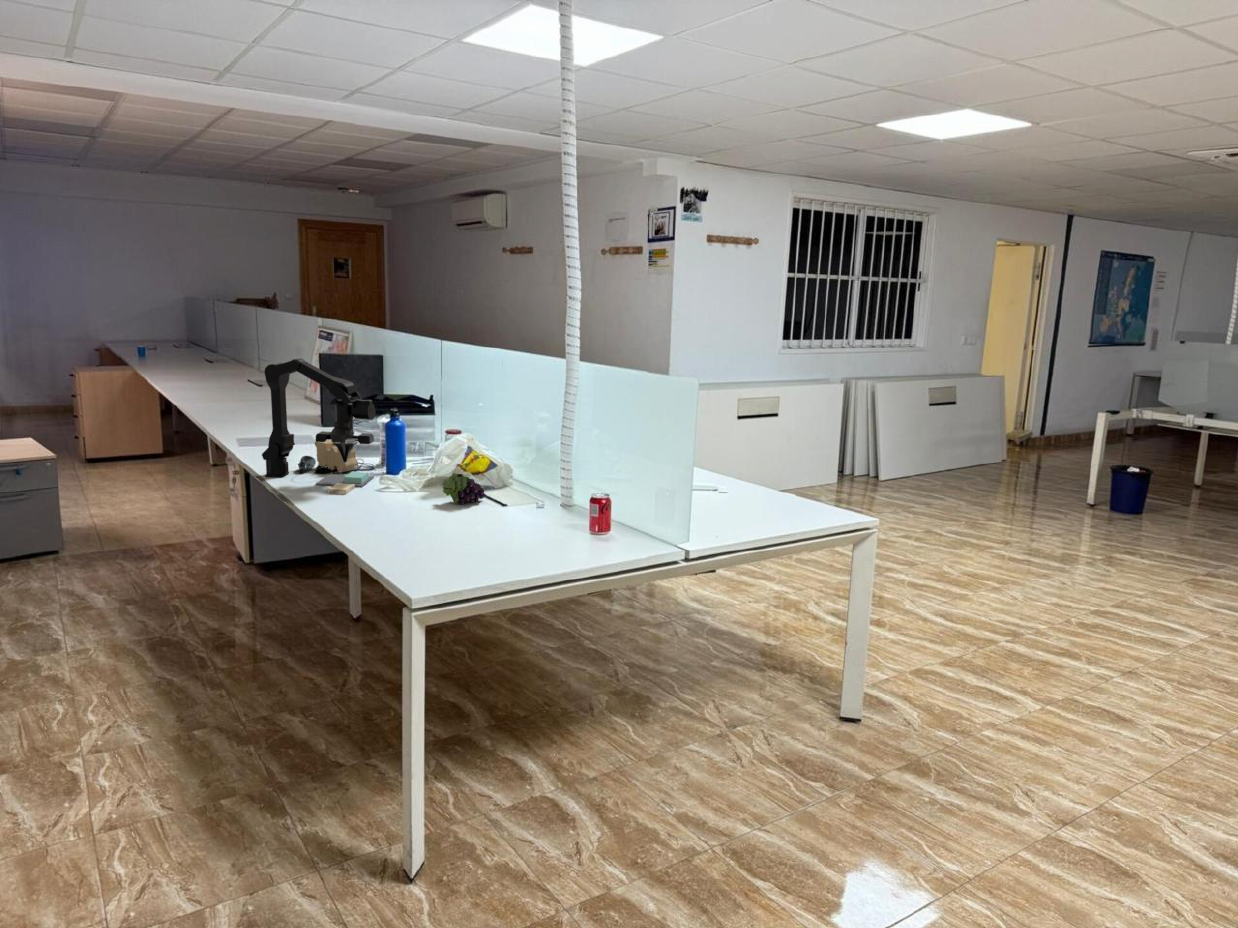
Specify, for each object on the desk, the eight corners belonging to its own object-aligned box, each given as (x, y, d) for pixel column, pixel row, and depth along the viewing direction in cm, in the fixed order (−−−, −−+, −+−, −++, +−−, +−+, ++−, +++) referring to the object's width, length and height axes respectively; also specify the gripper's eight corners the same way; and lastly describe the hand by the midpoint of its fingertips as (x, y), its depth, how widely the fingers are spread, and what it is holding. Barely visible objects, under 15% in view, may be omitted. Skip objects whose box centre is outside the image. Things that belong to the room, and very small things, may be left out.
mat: (315, 485, 297) (315, 483, 297) (329, 476, 311) (329, 474, 311) (362, 487, 297) (362, 485, 297) (373, 477, 311) (373, 476, 311)
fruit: (485, 511, 285) (446, 506, 275) (470, 499, 292) (431, 494, 282) (495, 482, 283) (456, 476, 273) (479, 471, 291) (441, 465, 281)
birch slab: (328, 494, 288) (328, 488, 287) (337, 488, 296) (337, 483, 295) (346, 495, 288) (346, 489, 287) (354, 489, 295) (354, 484, 295)
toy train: (346, 474, 315) (345, 447, 313) (315, 467, 324) (314, 440, 322) (358, 471, 320) (357, 445, 318) (327, 464, 329) (326, 438, 326)
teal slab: (344, 477, 300) (361, 477, 300) (351, 471, 307) (368, 472, 307) (344, 482, 300) (361, 483, 300) (351, 477, 308) (368, 478, 308)
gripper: (309, 420, 292) (310, 465, 295) (364, 423, 292) (365, 468, 295) (320, 415, 303) (321, 459, 306) (374, 417, 303) (374, 461, 306)
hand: (345, 462), depth 303 cm, fingers closed
